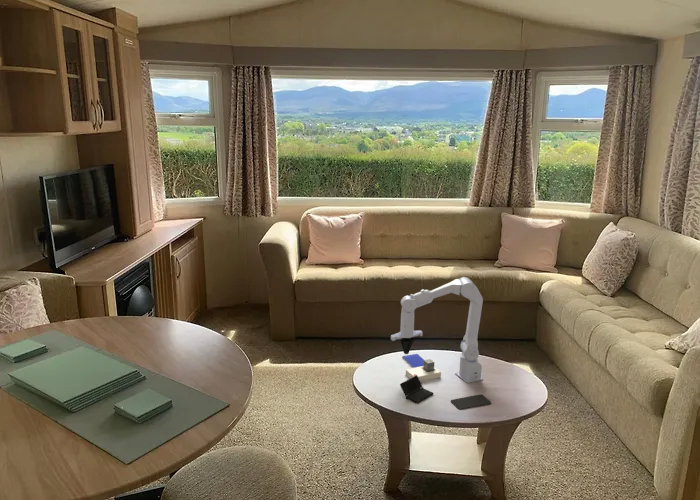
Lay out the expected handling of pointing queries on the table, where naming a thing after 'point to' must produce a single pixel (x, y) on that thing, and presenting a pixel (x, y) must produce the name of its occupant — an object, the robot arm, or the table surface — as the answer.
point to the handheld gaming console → (415, 390)
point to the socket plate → (423, 373)
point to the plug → (428, 365)
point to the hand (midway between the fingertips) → (406, 353)
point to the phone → (470, 402)
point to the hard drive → (414, 360)
